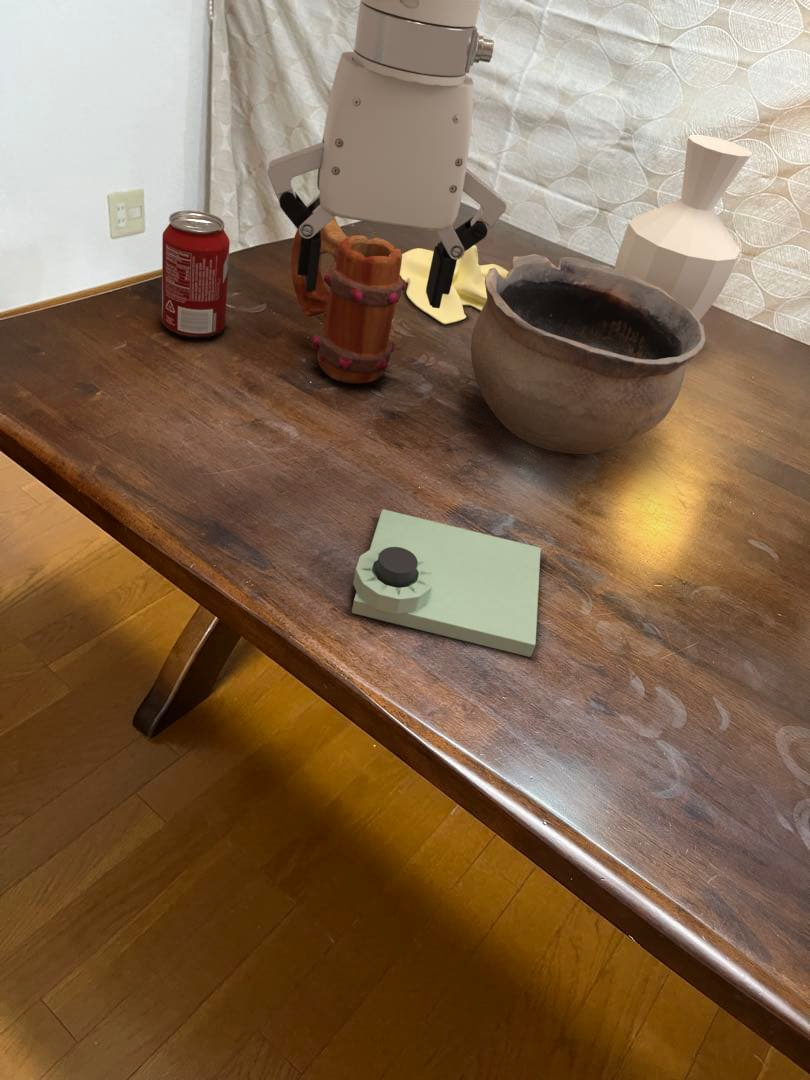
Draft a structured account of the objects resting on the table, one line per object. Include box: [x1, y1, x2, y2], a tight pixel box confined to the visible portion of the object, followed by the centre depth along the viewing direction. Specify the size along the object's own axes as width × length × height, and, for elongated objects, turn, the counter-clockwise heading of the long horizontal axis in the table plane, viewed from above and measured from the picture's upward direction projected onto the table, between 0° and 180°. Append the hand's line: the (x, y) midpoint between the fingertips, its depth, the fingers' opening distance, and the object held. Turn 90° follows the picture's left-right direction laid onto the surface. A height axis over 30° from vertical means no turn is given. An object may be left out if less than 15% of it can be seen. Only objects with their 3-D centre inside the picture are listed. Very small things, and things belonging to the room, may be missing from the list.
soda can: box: [161, 210, 231, 340], centre depth 92 cm, size 7×7×12 cm
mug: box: [290, 216, 407, 385], centre depth 91 cm, size 15×8×15 cm, turn 47°
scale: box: [351, 508, 542, 658], centre depth 69 cm, size 14×12×3 cm
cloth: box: [400, 244, 509, 325], centre depth 115 cm, size 22×19×6 cm
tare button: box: [375, 547, 418, 588], centre depth 65 cm, size 3×3×2 cm
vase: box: [614, 134, 753, 322], centre depth 108 cm, size 14×14×25 cm
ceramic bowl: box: [470, 253, 707, 455], centre depth 88 cm, size 22×22×15 cm
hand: (371, 292), depth 67 cm, fingers open, 9 cm apart
